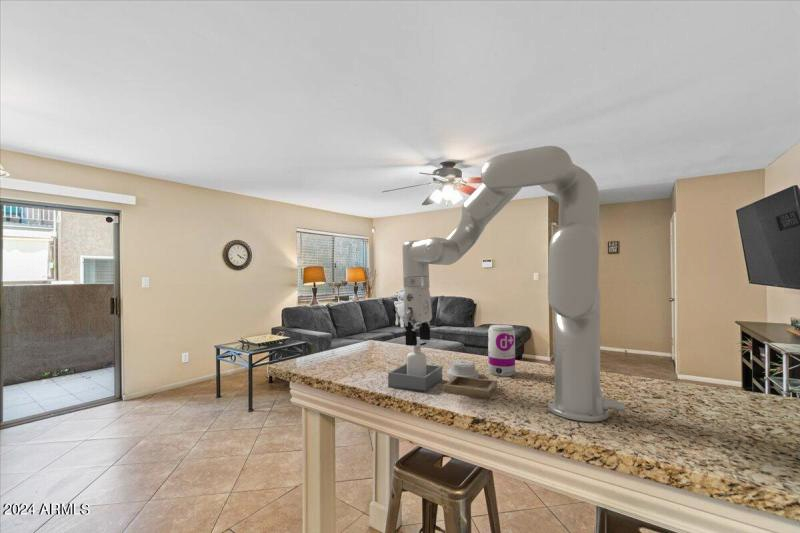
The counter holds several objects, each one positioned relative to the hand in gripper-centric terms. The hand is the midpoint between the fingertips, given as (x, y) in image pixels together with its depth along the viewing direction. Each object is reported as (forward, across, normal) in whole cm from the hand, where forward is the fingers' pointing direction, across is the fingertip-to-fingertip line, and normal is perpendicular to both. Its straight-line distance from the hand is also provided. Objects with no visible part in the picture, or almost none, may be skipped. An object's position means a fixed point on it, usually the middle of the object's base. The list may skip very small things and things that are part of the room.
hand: (418, 342), depth 105 cm
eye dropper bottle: (+11, 0, +1) cm, 11 cm away
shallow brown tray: (+12, +1, -15) cm, 19 cm away
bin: (+12, 0, +1) cm, 12 cm away
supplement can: (+13, +22, -19) cm, 32 cm away
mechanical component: (+13, +14, -8) cm, 21 cm away
